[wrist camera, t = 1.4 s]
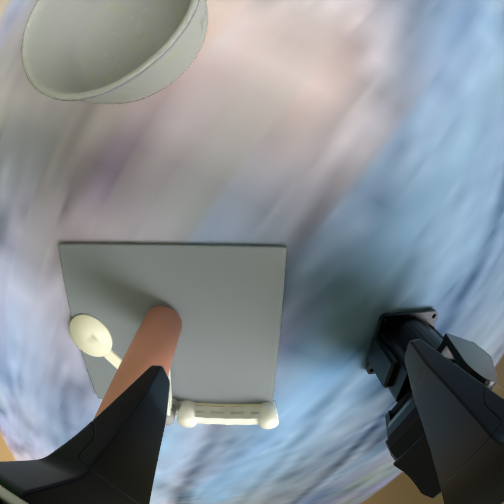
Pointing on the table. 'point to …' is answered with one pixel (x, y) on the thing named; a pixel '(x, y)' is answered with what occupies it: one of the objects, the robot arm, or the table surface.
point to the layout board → (182, 313)
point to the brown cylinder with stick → (148, 354)
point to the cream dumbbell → (228, 415)
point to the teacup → (111, 47)
